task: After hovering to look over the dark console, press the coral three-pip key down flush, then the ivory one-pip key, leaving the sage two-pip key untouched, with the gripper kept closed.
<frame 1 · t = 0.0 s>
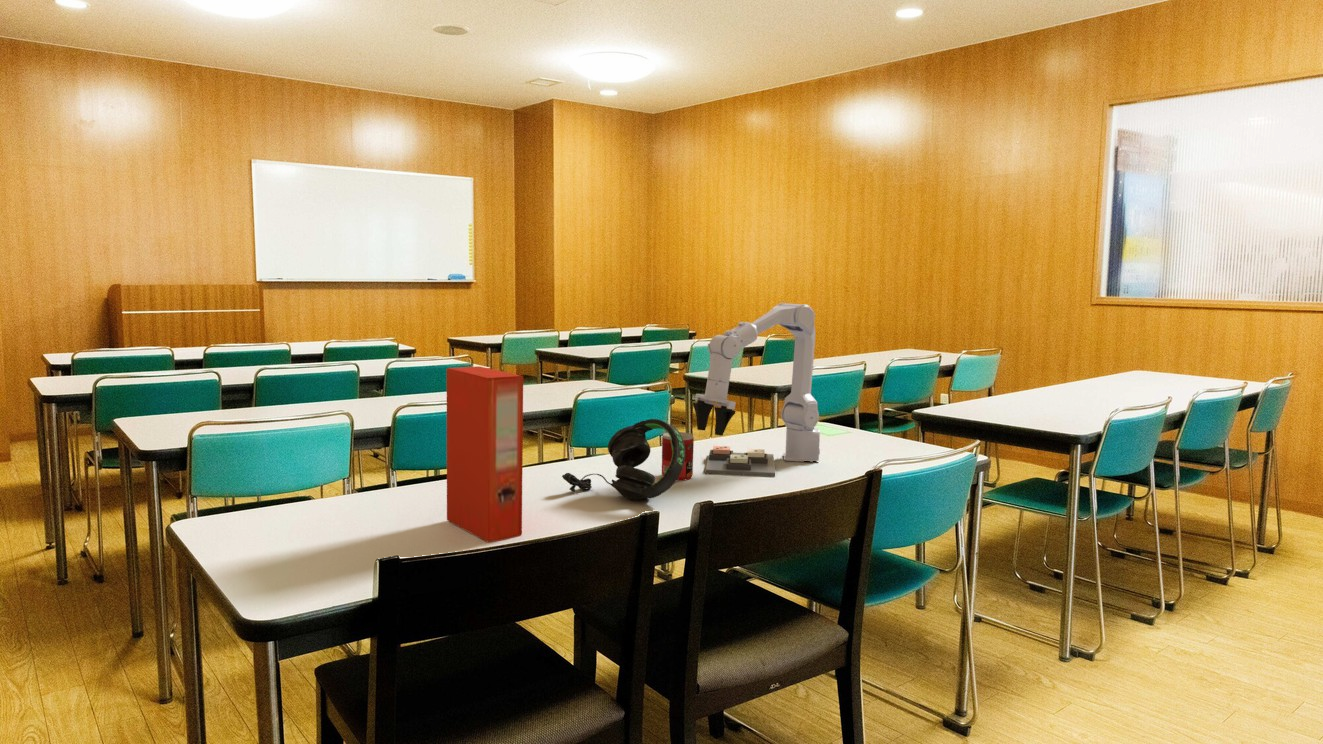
hand: (709, 432, 223), 11 cm above the table, tool pointing down, fingers open, 7 cm apart
key two: (738, 458, 226), point 3 cm above the table, slide at 0.0 cm
console: (740, 465, 232), on the table
canned food: (677, 477, 218), on the table
key one: (755, 452, 233), point 3 cm above the table, slide at 0.0 cm
headset: (625, 499, 198), on the table
key three: (721, 449, 236), point 3 cm above the table, slide at 0.0 cm
file binder: (484, 529, 173), on the table
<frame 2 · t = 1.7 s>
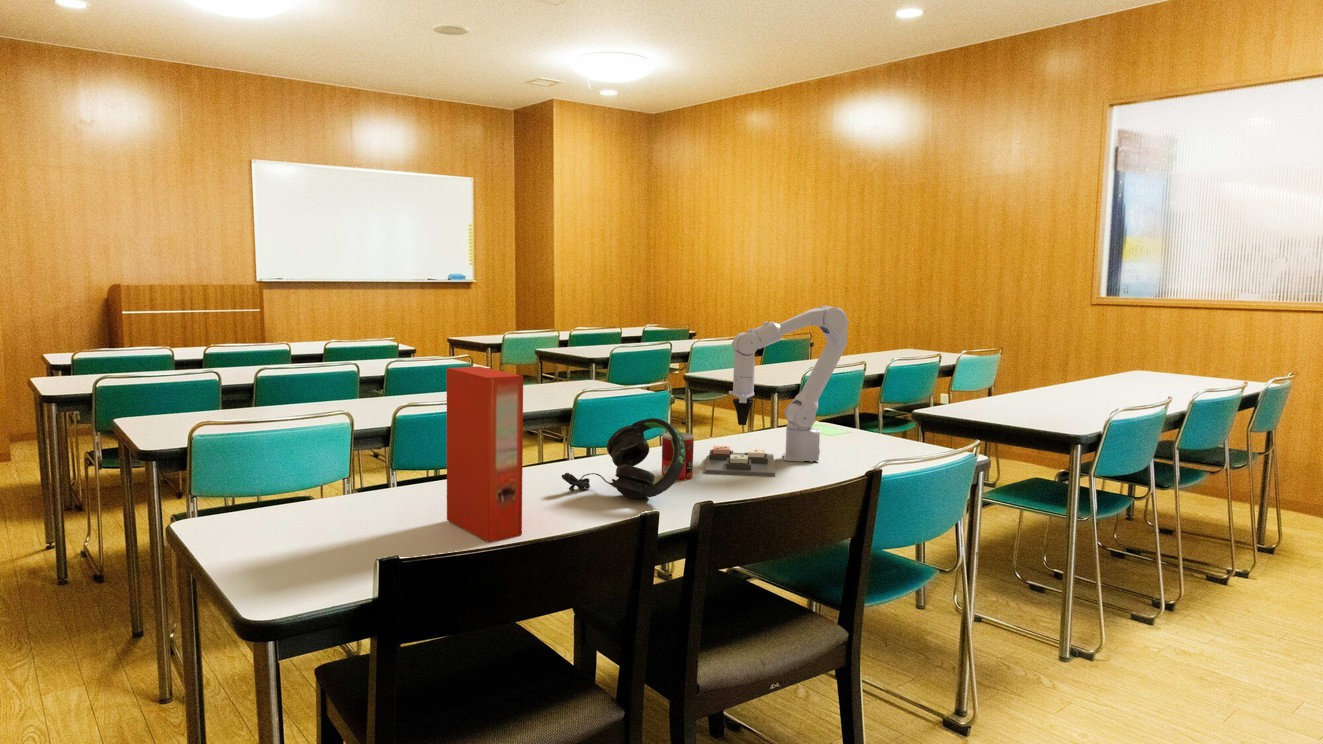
hand: (742, 424, 238), 10 cm above the table, tool pointing down, fingers closed
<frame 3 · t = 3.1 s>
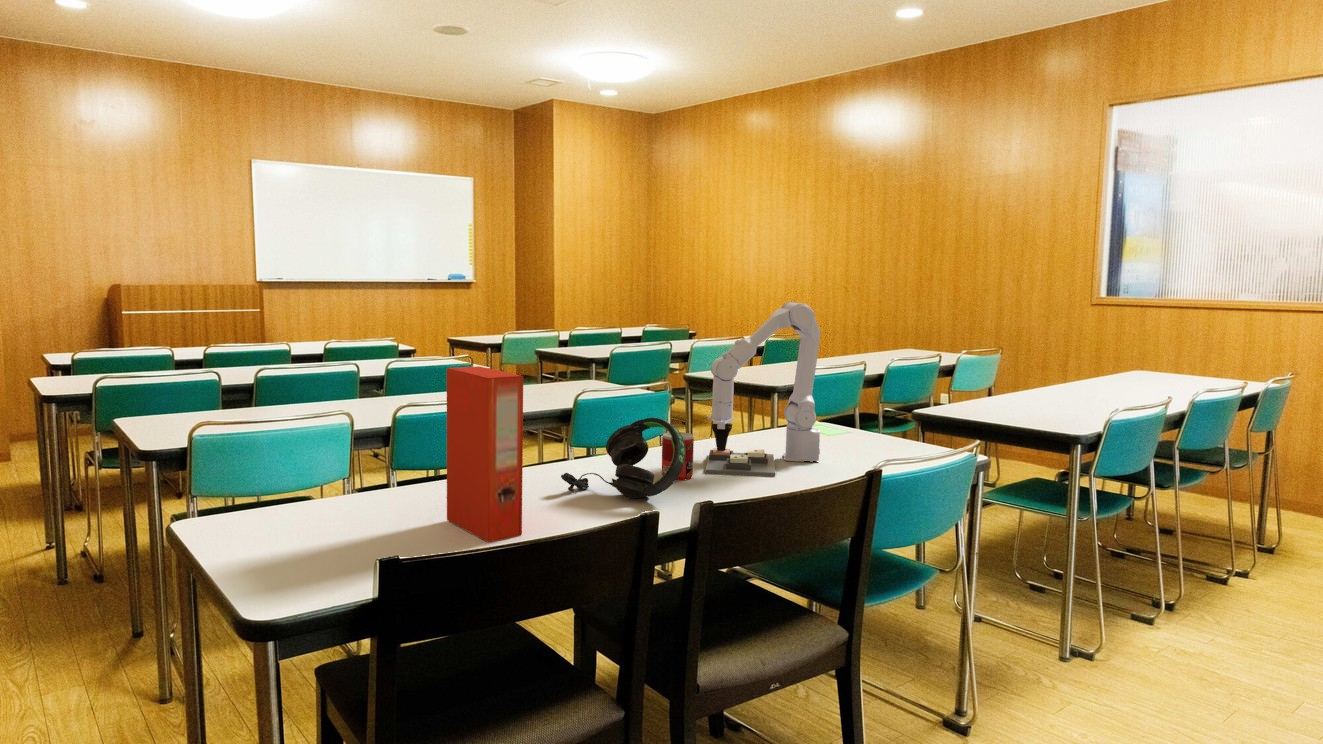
hand: (721, 450, 236), 3 cm above the table, tool pointing down, fingers closed, pressing on key three
key three: (721, 452, 236), point 2 cm above the table, slide at 0.7 cm, touching gripper
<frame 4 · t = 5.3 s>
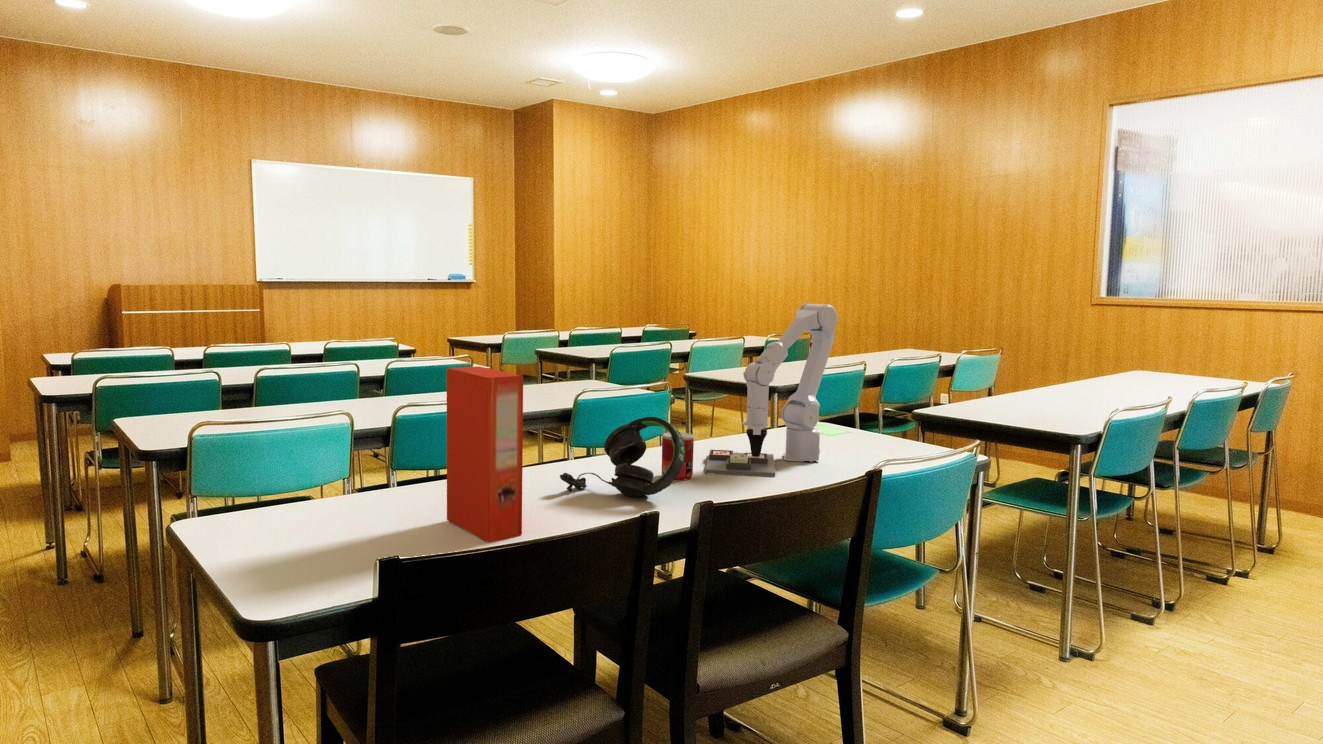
hand: (755, 455, 234), 2 cm above the table, tool pointing down, fingers closed, pressing on key one
key one: (755, 457, 234), point 2 cm above the table, slide at 1.4 cm, touching gripper
key three: (721, 455, 237), point 2 cm above the table, slide at 1.4 cm
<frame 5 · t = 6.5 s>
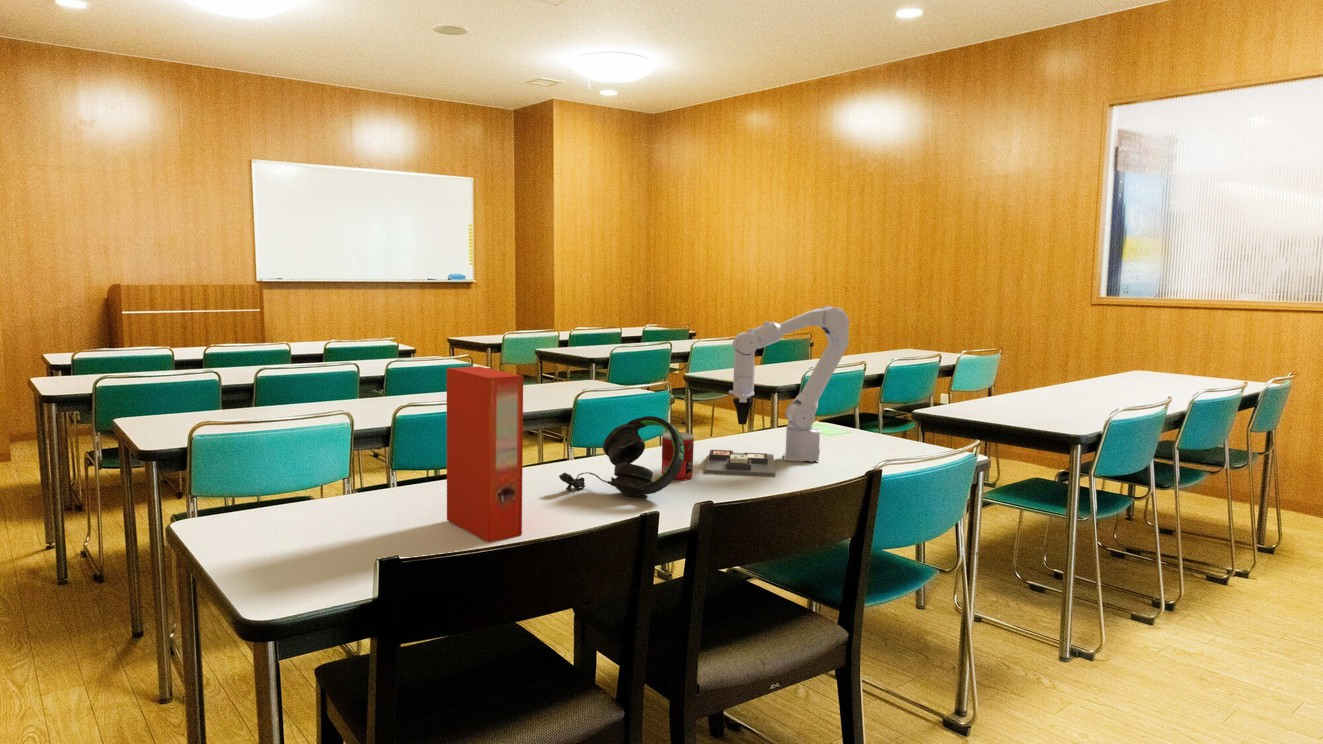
hand: (742, 424, 239), 10 cm above the table, tool pointing down, fingers closed
key one: (755, 457, 234), point 2 cm above the table, slide at 1.4 cm
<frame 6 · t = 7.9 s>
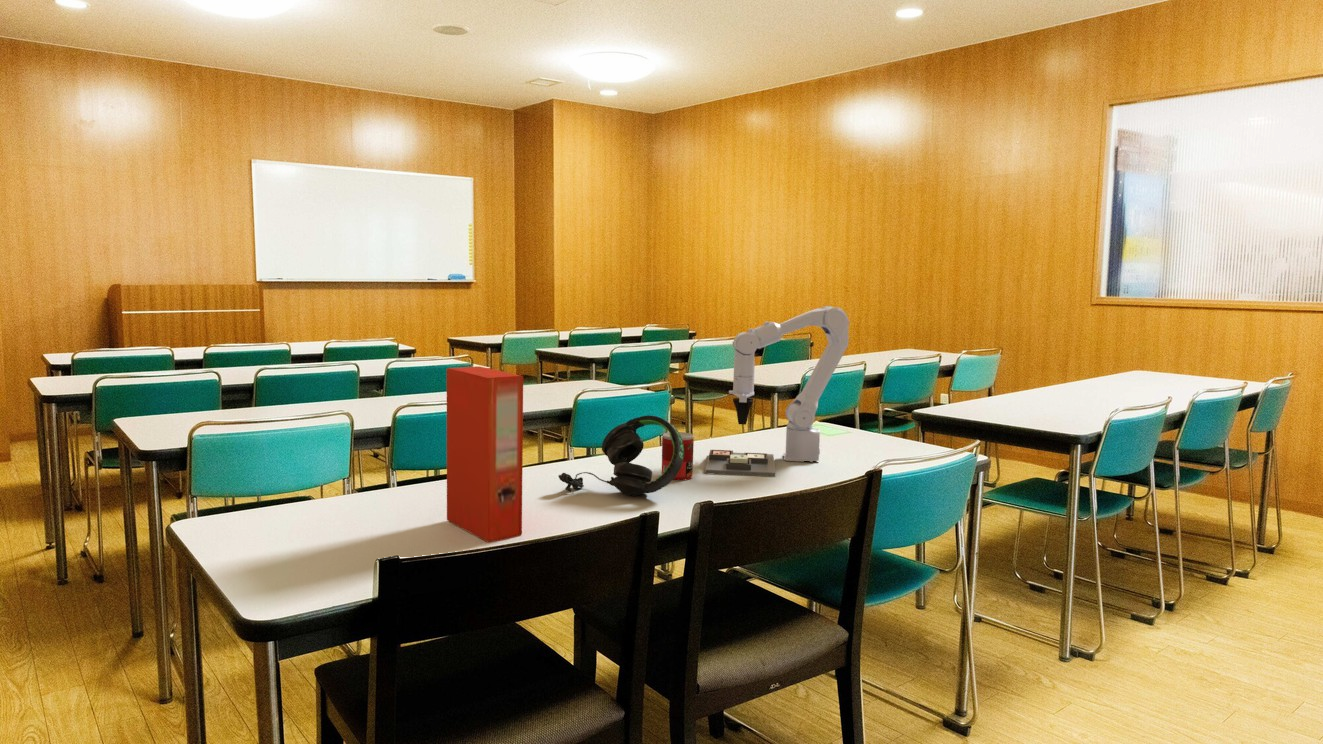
hand: (742, 424, 239), 10 cm above the table, tool pointing down, fingers closed
at the end: key three slide at 1.4 cm; key one slide at 1.4 cm; key two slide at 0.0 cm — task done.
